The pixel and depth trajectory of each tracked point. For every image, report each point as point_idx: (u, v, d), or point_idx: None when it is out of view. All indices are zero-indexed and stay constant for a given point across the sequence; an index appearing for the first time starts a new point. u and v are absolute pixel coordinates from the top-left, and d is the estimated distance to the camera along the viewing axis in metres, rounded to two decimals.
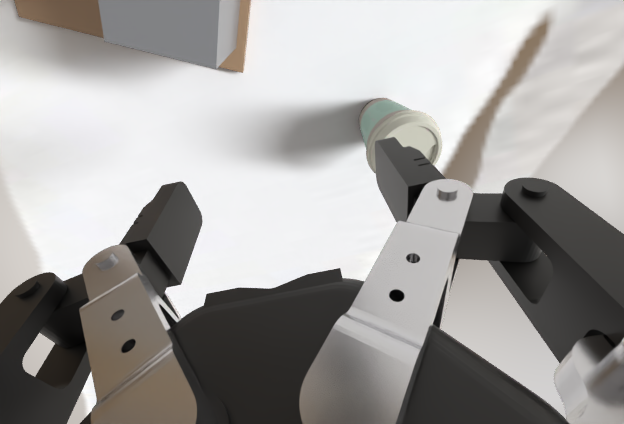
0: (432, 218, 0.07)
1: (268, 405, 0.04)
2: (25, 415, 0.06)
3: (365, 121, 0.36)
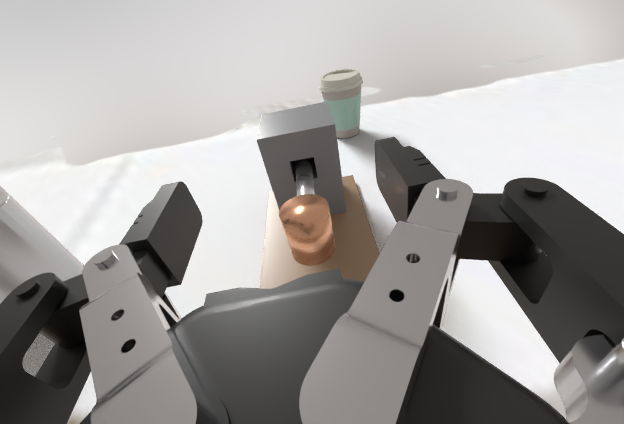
0: (432, 218, 0.07)
1: (268, 405, 0.04)
2: (25, 415, 0.06)
3: (344, 119, 0.57)
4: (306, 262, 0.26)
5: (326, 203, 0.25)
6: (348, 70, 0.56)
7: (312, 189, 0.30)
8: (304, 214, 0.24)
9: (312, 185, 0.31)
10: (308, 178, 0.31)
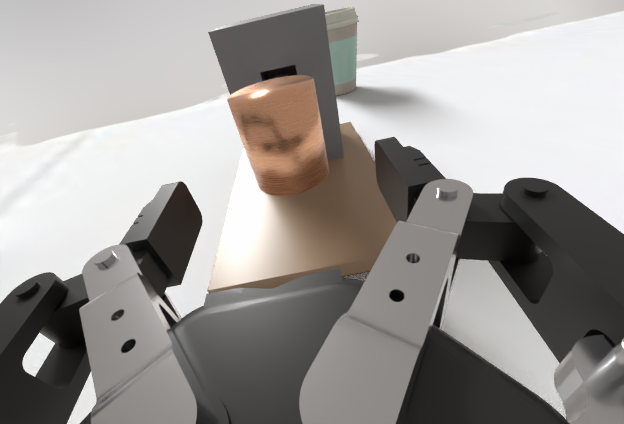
0: (432, 218, 0.07)
1: (268, 405, 0.04)
2: (25, 415, 0.06)
3: (337, 68, 0.47)
4: (279, 189, 0.15)
5: (310, 78, 0.14)
6: (341, 10, 0.47)
7: None
8: (270, 92, 0.13)
9: None
10: None
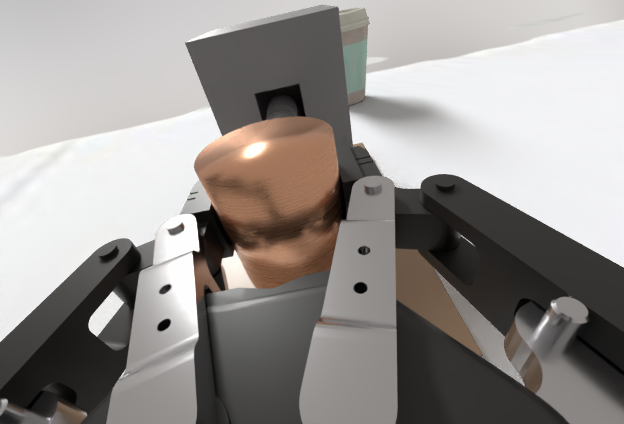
0: (352, 210, 0.08)
1: (267, 405, 0.04)
2: (83, 370, 0.07)
3: None
4: None
5: (327, 127, 0.09)
6: (349, 10, 0.41)
7: None
8: (263, 154, 0.08)
9: None
10: (288, 115, 0.16)
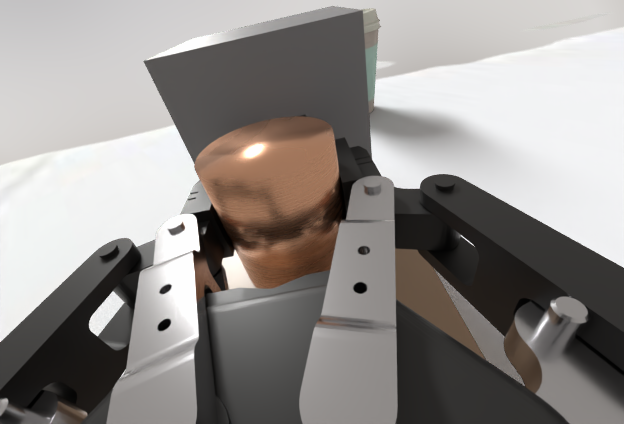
0: (352, 210, 0.08)
1: (267, 405, 0.04)
2: (83, 370, 0.07)
3: None
4: None
5: (327, 127, 0.09)
6: None
7: None
8: (263, 154, 0.08)
9: None
10: None
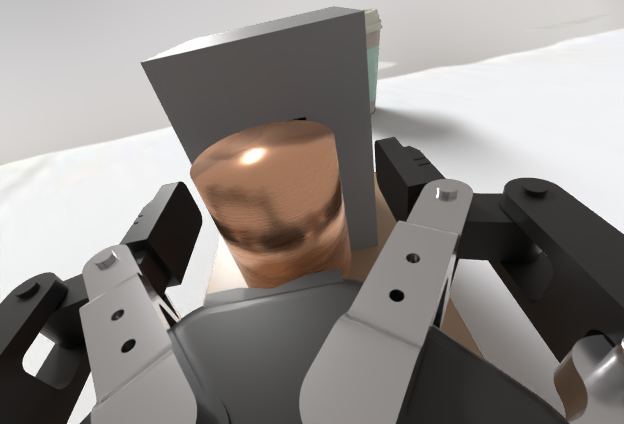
0: (432, 218, 0.07)
1: (268, 405, 0.04)
2: (25, 415, 0.06)
3: None
4: None
5: (328, 132, 0.09)
6: None
7: None
8: (261, 160, 0.08)
9: None
10: None
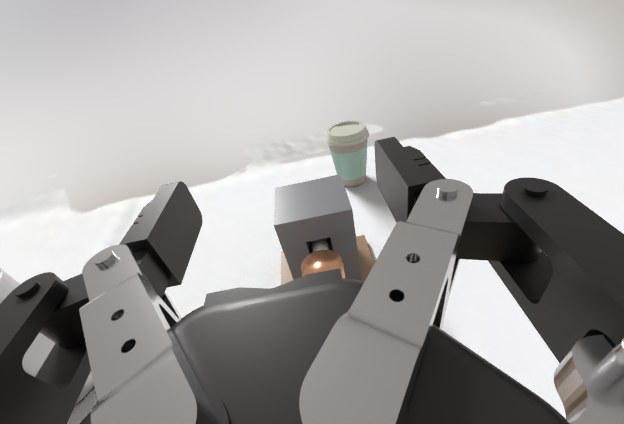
0: (432, 218, 0.07)
1: (268, 405, 0.04)
2: (25, 415, 0.06)
3: (351, 170, 0.57)
4: None
5: (340, 259, 0.29)
6: (354, 122, 0.57)
7: (325, 240, 0.35)
8: (322, 270, 0.29)
9: None
10: None
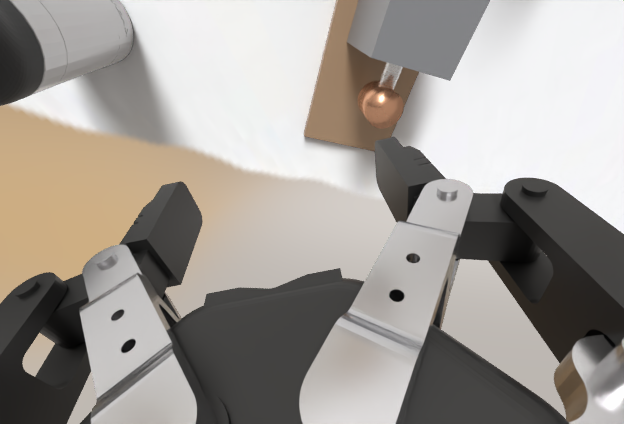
0: (432, 218, 0.07)
1: (267, 405, 0.04)
2: (25, 415, 0.06)
3: None
4: None
5: (401, 112, 0.34)
6: None
7: None
8: (382, 116, 0.34)
9: None
10: None
